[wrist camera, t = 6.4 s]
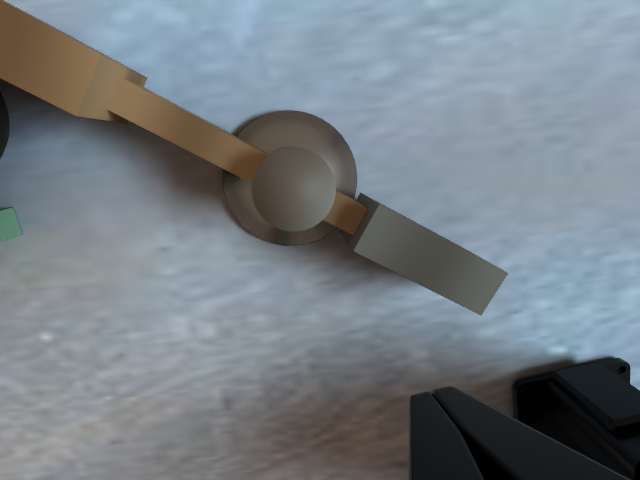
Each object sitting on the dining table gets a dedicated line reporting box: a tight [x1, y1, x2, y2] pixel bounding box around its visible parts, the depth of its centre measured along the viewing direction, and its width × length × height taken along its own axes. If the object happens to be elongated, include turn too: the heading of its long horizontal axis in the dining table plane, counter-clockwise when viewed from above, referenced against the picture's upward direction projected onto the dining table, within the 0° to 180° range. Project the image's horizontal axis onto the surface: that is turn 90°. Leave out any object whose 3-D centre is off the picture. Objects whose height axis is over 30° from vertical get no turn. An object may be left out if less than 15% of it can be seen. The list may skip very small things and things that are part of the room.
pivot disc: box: [223, 111, 357, 246], centre depth 18 cm, size 6×6×1 cm
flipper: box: [0, 0, 508, 315], centre depth 15 cm, size 22×3×4 cm, turn 62°
